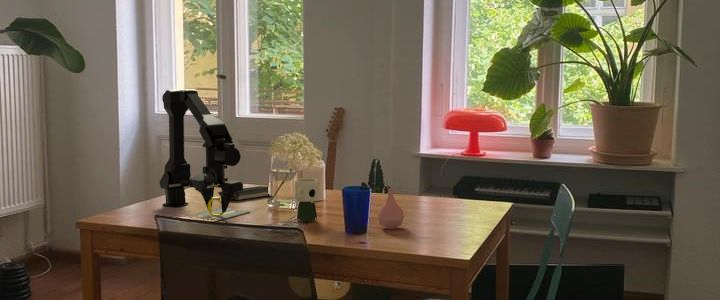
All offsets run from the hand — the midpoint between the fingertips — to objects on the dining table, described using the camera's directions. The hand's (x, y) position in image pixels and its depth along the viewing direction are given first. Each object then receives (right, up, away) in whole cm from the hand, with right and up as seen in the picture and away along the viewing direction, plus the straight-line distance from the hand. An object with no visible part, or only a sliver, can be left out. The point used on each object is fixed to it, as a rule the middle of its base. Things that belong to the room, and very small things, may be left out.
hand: (216, 210), depth 242 cm
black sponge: (+5, +2, +33) cm, 33 cm away
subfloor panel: (-2, -2, +2) cm, 3 cm away
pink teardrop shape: (+55, -4, -16) cm, 57 cm away
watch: (0, -2, 0) cm, 2 cm away
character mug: (+29, -3, -5) cm, 30 cm away
